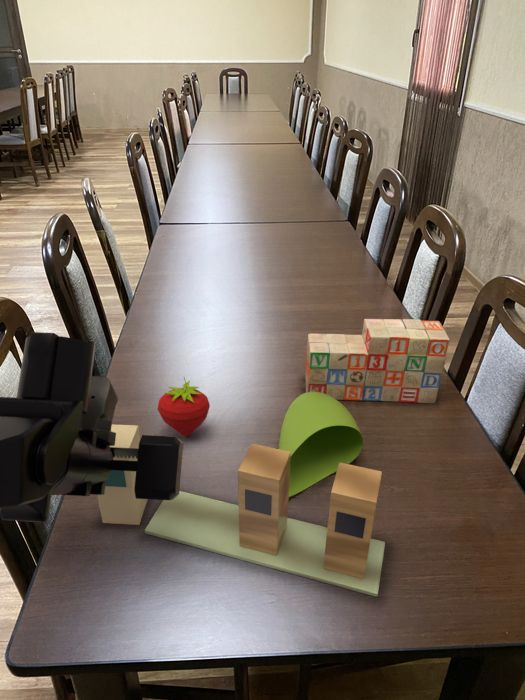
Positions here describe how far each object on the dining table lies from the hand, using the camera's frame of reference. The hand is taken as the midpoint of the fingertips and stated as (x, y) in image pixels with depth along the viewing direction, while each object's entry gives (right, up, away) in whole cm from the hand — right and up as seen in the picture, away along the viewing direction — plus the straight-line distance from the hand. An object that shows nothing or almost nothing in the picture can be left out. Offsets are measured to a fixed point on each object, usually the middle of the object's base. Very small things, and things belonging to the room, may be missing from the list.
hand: (113, 465), depth 62 cm
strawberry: (+6, 0, +19) cm, 20 cm away
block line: (+17, -9, +2) cm, 20 cm away
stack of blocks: (+35, +6, +29) cm, 46 cm away
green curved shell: (+25, -2, +15) cm, 29 cm away
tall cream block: (0, -7, +6) cm, 9 cm away
